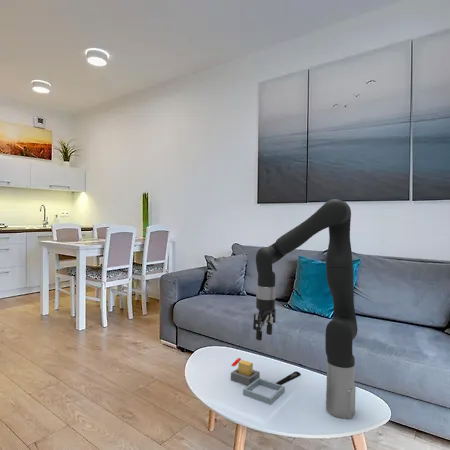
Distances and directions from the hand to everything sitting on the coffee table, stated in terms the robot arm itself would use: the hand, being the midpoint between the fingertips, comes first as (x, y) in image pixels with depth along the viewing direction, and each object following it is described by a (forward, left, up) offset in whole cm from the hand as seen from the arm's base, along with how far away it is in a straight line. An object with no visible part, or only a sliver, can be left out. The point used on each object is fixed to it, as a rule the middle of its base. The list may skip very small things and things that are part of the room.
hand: (264, 337), depth 135 cm
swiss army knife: (+20, -12, -21) cm, 32 cm away
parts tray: (-4, +6, -21) cm, 22 cm away
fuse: (+8, +1, -19) cm, 21 cm away
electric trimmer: (-6, -11, -21) cm, 25 cm away
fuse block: (+8, +1, -21) cm, 22 cm away
